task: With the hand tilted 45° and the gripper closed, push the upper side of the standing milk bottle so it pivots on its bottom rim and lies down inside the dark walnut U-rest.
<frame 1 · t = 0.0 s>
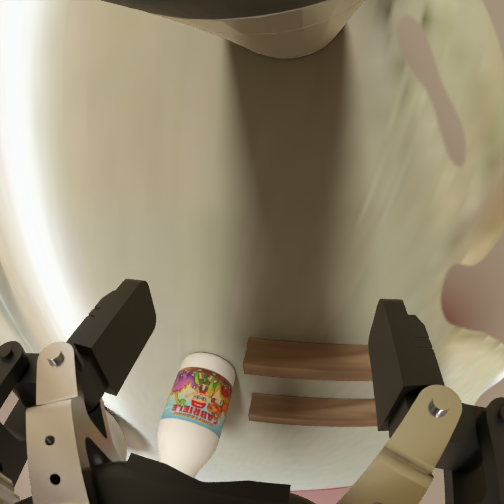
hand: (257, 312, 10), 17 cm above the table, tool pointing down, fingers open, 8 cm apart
milk bottle: (210, 366, 42), on the table
pot: (96, 408, 63), on the table
walnut U-rest: (327, 378, 39), on the table
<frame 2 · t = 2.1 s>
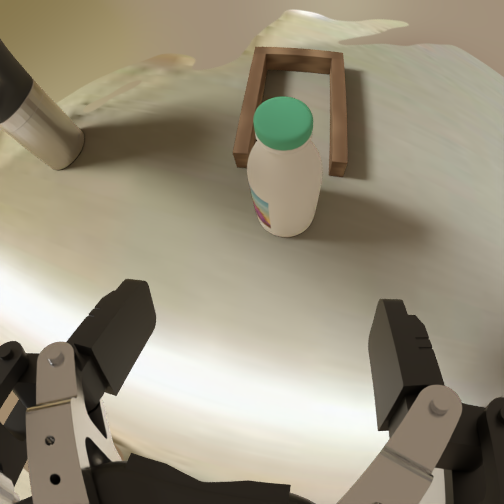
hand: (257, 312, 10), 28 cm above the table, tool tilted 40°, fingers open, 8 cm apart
milk bottle: (285, 211, 41), on the table
pot: (450, 466, 29), on the table
walnut U-rest: (295, 114, 44), on the table
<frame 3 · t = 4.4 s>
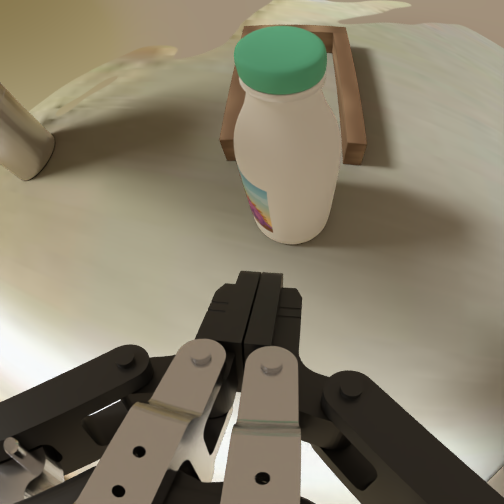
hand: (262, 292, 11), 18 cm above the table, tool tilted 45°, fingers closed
milk bottle: (291, 211, 31), on the table
pot: (497, 502, 17), on the table
walnut U-rest: (295, 95, 36), on the table
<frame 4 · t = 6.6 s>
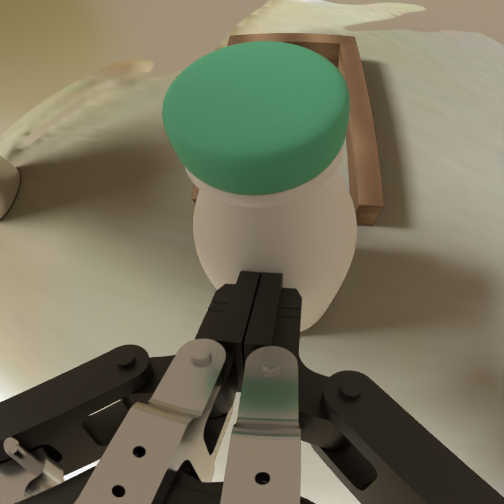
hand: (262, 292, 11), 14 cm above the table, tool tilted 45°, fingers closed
milk bottle: (283, 289, 25), on the table, touching gripper
walnut U-rest: (292, 127, 30), on the table
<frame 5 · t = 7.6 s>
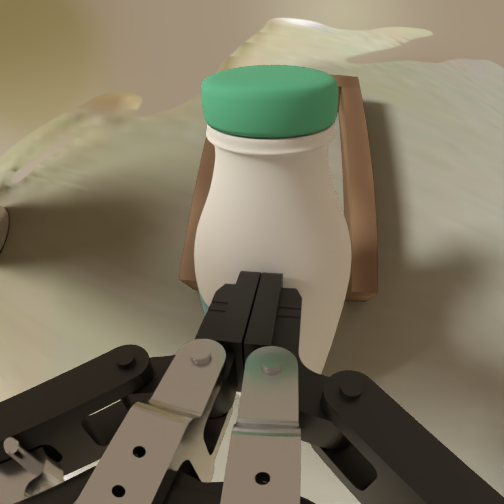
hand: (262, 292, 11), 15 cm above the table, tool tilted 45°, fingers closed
milk bottle: (272, 363, 23), point 2 cm above the table, touching gripper
walnut U-rest: (286, 186, 29), on the table
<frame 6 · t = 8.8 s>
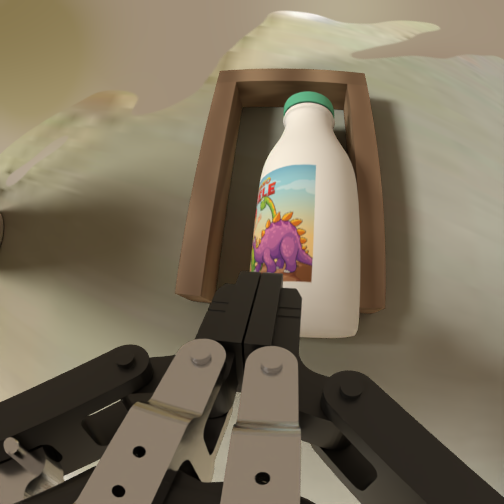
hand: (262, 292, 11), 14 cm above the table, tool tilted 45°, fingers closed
milk bottle: (300, 338, 20), point 4 cm above the table, touching walnut U-rest
walnut U-rest: (289, 191, 27), on the table
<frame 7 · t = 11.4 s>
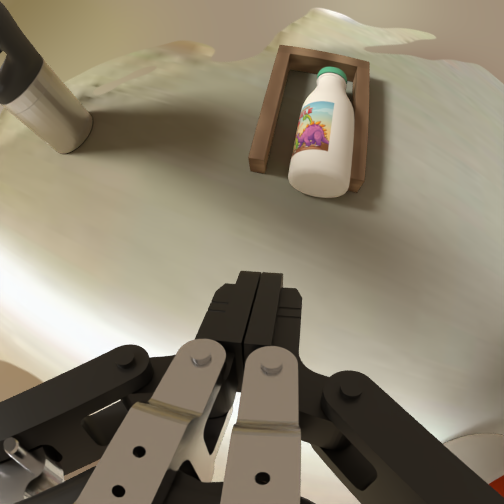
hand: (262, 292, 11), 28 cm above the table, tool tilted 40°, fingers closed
milk bottle: (317, 187, 37), point 4 cm above the table, touching walnut U-rest
pot: (428, 482, 31), on the table
walnut U-rest: (314, 120, 43), on the table
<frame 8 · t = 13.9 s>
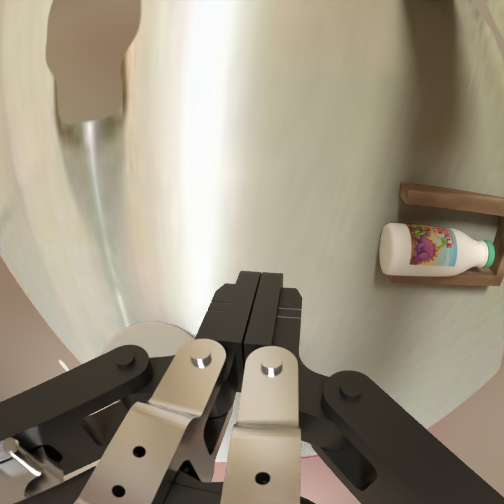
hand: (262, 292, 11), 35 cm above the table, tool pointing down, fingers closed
milk bottle: (383, 248, 42), point 4 cm above the table, touching walnut U-rest
pot: (173, 342, 66), on the table
walnut U-rest: (449, 233, 43), on the table
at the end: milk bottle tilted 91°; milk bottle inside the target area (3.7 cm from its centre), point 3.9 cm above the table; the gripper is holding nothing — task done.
